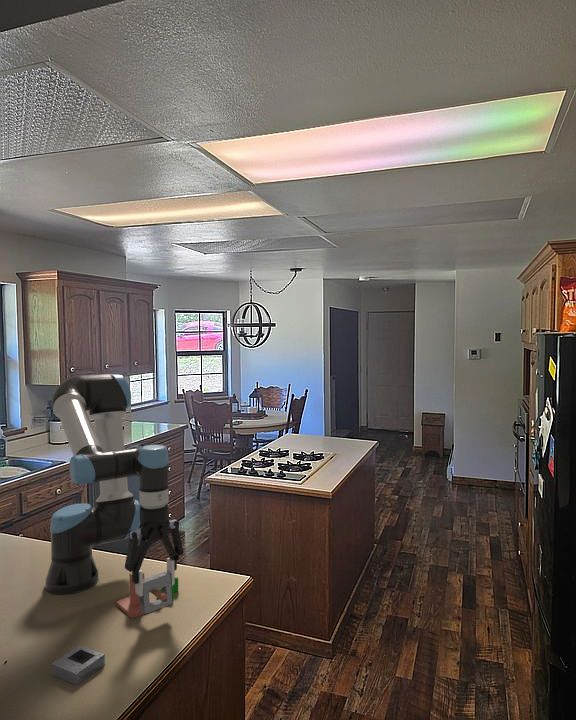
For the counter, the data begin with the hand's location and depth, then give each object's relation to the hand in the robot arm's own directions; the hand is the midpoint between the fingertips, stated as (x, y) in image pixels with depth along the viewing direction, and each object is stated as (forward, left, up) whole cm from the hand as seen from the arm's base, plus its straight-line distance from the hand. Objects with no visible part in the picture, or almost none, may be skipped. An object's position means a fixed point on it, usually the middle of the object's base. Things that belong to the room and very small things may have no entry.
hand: (155, 588), depth 138 cm
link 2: (+1, 0, -5) cm, 5 cm away
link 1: (+7, -23, -9) cm, 25 cm away
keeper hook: (-5, 0, -9) cm, 10 cm away
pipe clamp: (-10, +10, -9) cm, 17 cm away
